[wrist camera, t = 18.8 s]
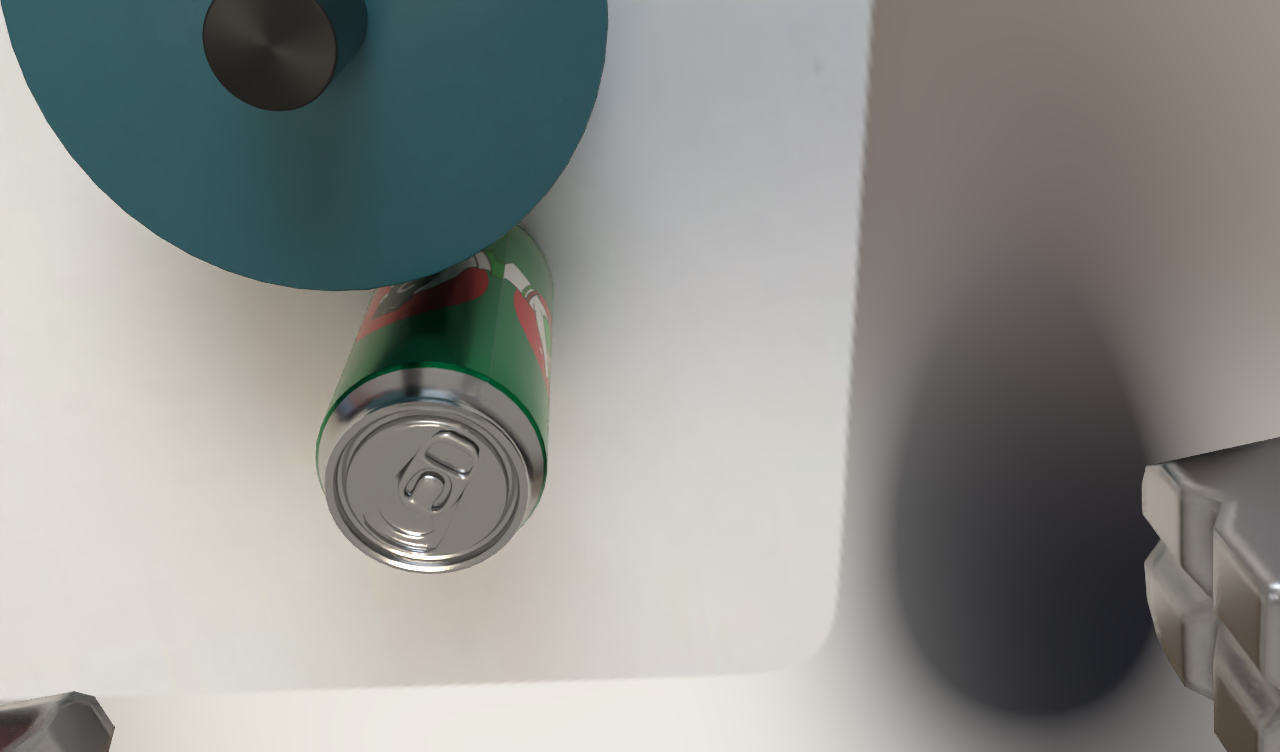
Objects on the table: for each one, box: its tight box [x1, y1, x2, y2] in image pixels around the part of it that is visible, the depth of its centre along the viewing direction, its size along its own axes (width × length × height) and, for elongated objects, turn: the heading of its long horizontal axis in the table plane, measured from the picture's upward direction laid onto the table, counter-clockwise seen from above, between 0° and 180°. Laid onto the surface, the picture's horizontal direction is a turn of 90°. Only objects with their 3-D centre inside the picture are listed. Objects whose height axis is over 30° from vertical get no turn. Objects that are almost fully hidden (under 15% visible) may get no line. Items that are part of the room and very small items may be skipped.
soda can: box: [316, 225, 553, 574], centre depth 30 cm, size 5×5×12 cm
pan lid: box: [1, 0, 608, 291], centre depth 23 cm, size 12×12×5 cm
